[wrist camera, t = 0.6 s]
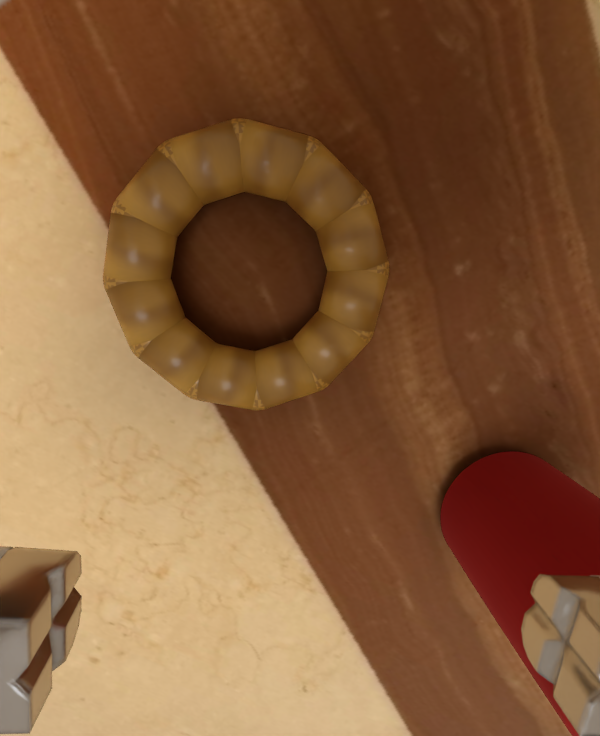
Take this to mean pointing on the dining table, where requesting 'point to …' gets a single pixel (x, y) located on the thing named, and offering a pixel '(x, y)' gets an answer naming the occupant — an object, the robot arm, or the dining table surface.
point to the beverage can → (520, 536)
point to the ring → (218, 181)
